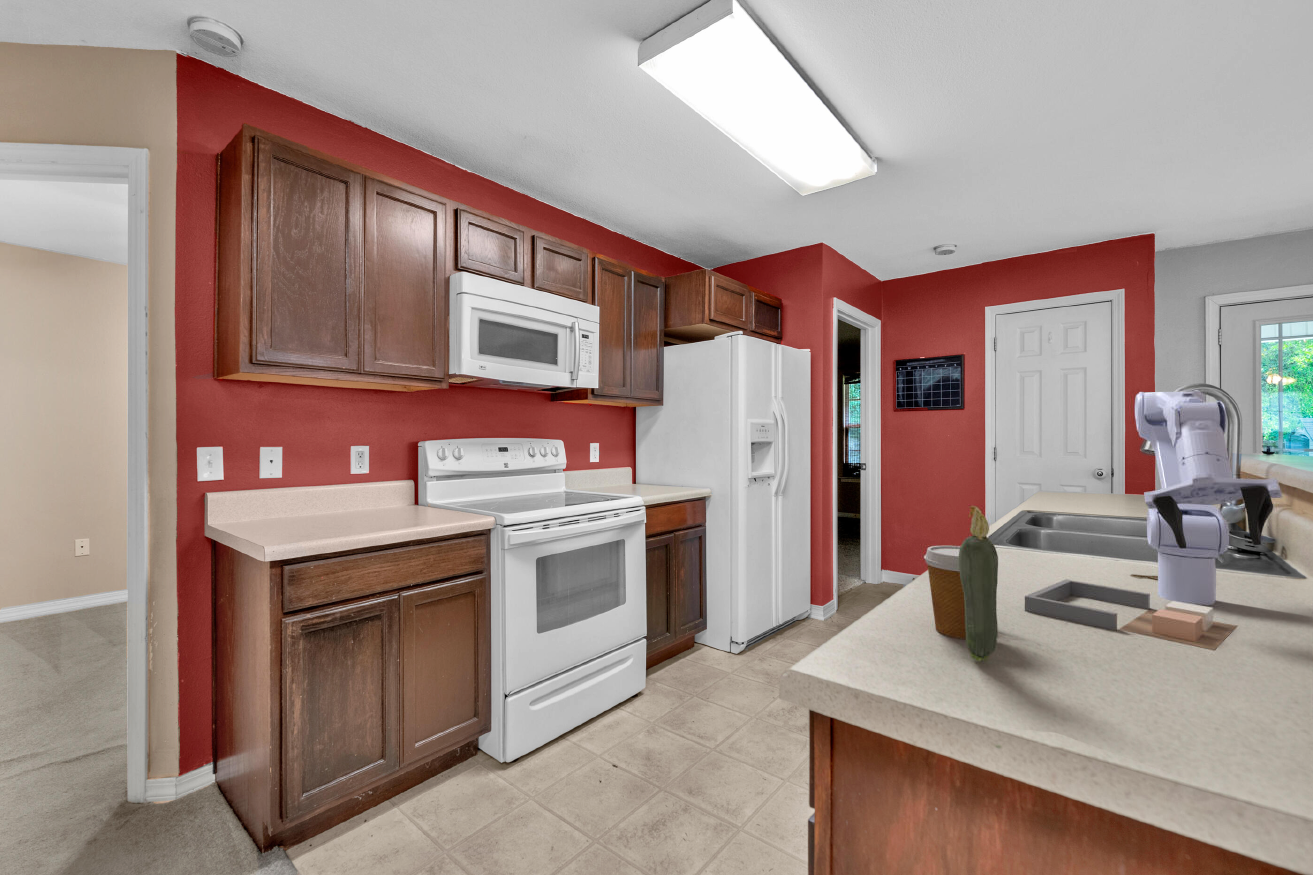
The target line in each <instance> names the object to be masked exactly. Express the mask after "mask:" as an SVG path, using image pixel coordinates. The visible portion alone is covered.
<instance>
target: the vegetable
mask: <svg viewBox="0 0 1313 875" xmlns="http://www.w3.org/2000/svg"><path fill="white" fill-rule="evenodd" d="M969 509H970V511H969V515H968V517H969V518H970V517H972V518H971V525H970V534H972V535H970V536H967V537H966V538H965V539H964V540H963V541H962V543H961V545H960V550H959V571H960V579H961V583H962V587H963V592H964V601H965V628H966V639H965V641H966V642H965V643H966V645H967V648H968V650H969V652H970V653H969V654H970V657H971V658H972V659H974V660H975V661H976V662H977V663H978V662H980V661H982V660H983V661H986V660H988V658H989V657H990V656H991V655H992V654H993V653H994V652H995V651H996V647H997V643H998V642H997V640H998V633H999V632H998V627H999V626H998V617H997V616H998V615H997V612H998V611H997V596H998V595H997V593H998V592H997V589H998V581H999V579H998V577H999V575H998V572H999V571H998V570H999V556H998V551H997V549H996V546H995V545H994V543H993V542H992V541H991V540H990V539H989V538H988V537H987V535H988V534H989V532H990V526H989V522H988V520H987V518H986V517H985V515H984V514H983V513H982V511H981V509H980V508H979V507H977V506H975V505H971V506H970V507H969Z"/></svg>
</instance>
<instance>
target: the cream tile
mask: <svg viewBox="0 0 1313 875" xmlns="http://www.w3.org/2000/svg"><path fill="white" fill-rule="evenodd" d="M1164 610H1169V611H1174V612H1179V613H1185V614H1190V615H1196V616H1201V617H1202V630H1204V631H1207V630H1208V629H1209V628H1210V627H1211V626H1212V625H1213V621H1214V607H1211V606H1210V607H1209V606H1206V605H1197V604H1188V603H1182V602H1177V601H1172V600H1171V602H1169V603H1167V604H1166V605H1165V606H1164Z"/></svg>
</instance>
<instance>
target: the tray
mask: <svg viewBox="0 0 1313 875" xmlns="http://www.w3.org/2000/svg"><path fill="white" fill-rule="evenodd" d="M1068 596H1076V597H1081V598H1087V599H1093V600H1097V601H1102V602H1107V603H1114V604H1119V605H1123V606H1129V607H1135V608H1139V609H1144V610H1145V609H1146V610H1149V609H1150V608H1151V598H1150V597H1151V593H1148V592H1141V591H1137V590H1130V589H1124V588H1118V587H1113V586H1106V585H1102V584H1095V583H1090V582H1084V581H1077V580H1073V579H1066V578H1065V579H1063V580H1061V581H1059V582H1056V583H1053V584H1052V585H1048V586H1046V587H1044V588H1041V589H1039V590H1036V591H1034V592H1032V593H1029V594H1027V595H1024V612H1029V613H1033V614H1038V615H1041V616H1047V617H1052V618H1055V619H1059V620H1064V621H1069V622H1073V623H1078V624H1081V625H1082V624H1083V625H1086V626H1087V625H1088V626H1092V627H1097V628H1101V629H1106V630H1110V631H1114V632H1115V631H1117V629H1118V613H1117V612H1114V611H1110V610H1109V611H1108V610H1104V609H1098V608H1093V607H1089V606H1085V605H1078V604H1074V603H1067V602H1064V601H1061V600H1062V599H1064V598H1066V597H1068Z"/></svg>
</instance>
